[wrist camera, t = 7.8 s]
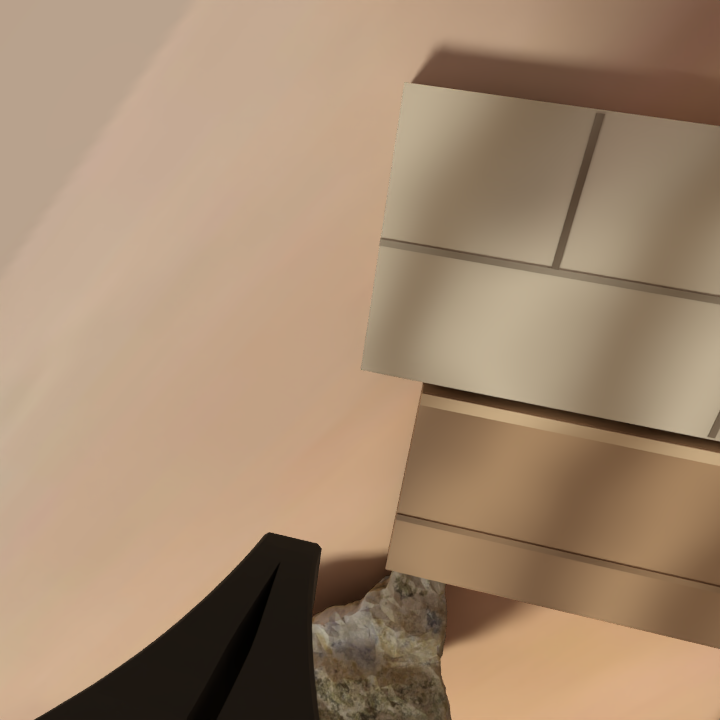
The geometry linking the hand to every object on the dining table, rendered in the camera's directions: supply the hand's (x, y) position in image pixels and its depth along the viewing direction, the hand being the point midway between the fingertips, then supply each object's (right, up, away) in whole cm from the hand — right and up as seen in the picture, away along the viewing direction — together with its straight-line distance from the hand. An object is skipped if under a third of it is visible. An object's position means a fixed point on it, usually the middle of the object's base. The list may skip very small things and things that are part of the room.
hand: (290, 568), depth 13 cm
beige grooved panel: (+12, +8, +6) cm, 16 cm away
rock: (+2, -8, +15) cm, 17 cm away
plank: (+11, -1, +10) cm, 15 cm away
